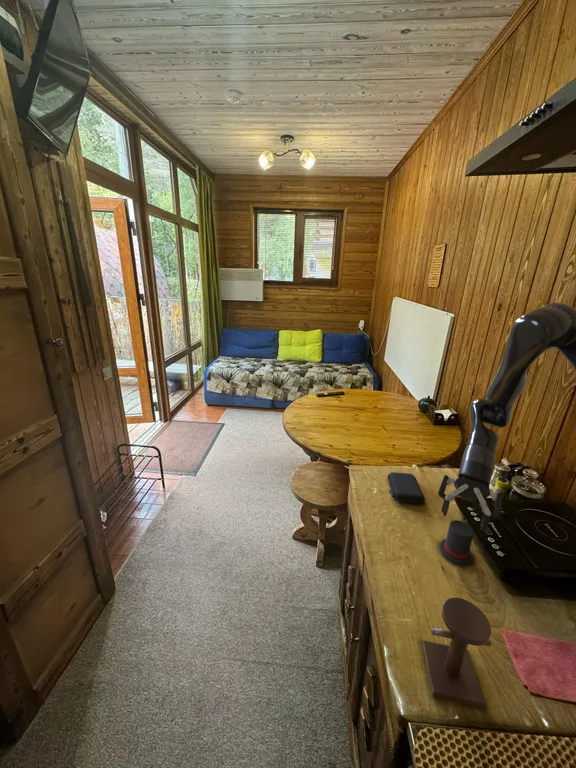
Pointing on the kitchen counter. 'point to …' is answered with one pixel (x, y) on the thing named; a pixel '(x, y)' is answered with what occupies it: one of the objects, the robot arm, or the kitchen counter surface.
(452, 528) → the hat
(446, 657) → the coat stand
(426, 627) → the kitchen counter surface
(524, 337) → the robot arm
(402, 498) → the carrying case
